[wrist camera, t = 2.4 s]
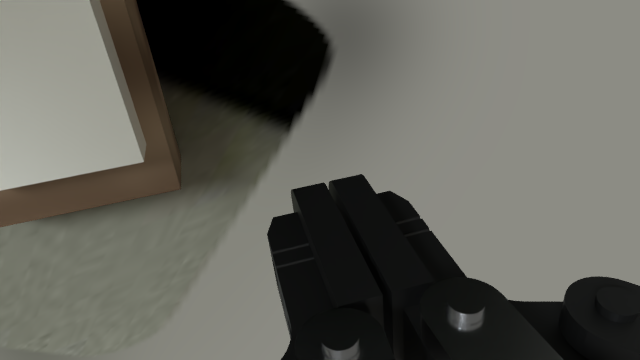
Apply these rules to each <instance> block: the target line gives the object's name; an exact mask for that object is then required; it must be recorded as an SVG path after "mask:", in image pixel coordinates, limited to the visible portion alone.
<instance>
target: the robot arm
mask: <svg viewBox="0 0 640 360" xmlns="http://www.w3.org/2000/svg"><path fill="white" fill-rule="evenodd" d="M291 196H292V203H293V209H294V213H291V214H286V215H282V216H278V217H273V219H272V222H271V225H270V228H269V230H268V234H267V236H268V241H269V246H270V251H271V256H272V261H273V266H274V271H275V276H276V281H277V286H278V290H279V294H280V298H281V302H282V306H283V310H284V314H285V318H286V322H287V326H288V330H289V334H290V338H291V340H290V344H289V347H288V349H287V351H286V353H285V355H284V356H283V358H282V359H281V360H640V286H638V285H635V284H632V283H629V282H626V281H622V280H619V279H615V278H609V277H589V278H583V279H580V280H578V281H576V282H574V283H572V284H571V285H570V286H569V287H568V289H567V291H566V294H565V297H564V301H563V302H522V301H512V300H507V299H506V297H505V296H504V295H503V294H502V293H500V292H499V291H498V290H497V289H495V288H494V287H493V286H491V285H489V284H487V283H485V282H482V281H479V280H476V279H472V278H467V277H466V276H465V274H464V273H463V272H462V271H461V269H460V268H459V266H458V265H457V264H456V263H455V261H454V260H453V259H452V257H451V256H450V255H449V254H448V252H447V251H446V249H445V248H444V247H443V246H442V244H441V243H440V242H439V240H438V239H437V238H436V236H435V235H434V234H433V233H432V231H429V228H428V226H427V225H426V223H425V222H424V221H423V219H420V216H419V214H418V213H417V212H416V210H415V209H414V208H413V206H412V205H411V204H410V203H409V201H407V200H405V199H404V198H402V197H400V196H398V195H396V194H395V193H393V192H391V191H387V192H382V193H378V194H376V193H375V191H374V190H373V189H372V187H371V186H370V184H369V183H368V181H367V180H366V178H365V177H364V176H363V175H362V174H360V175H356V176H351V177H347V178H342V179H337V180H333V181H330V182H329V190H328V188H327V186H326V184H325V183H320V184H315V185H311V186H306V187H302V188H297V189H293V190H291Z"/></svg>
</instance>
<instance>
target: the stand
mask: <svg viewBox="0 0 640 360" xmlns="http://www.w3.org/2000/svg"><path fill="white" fill-rule="evenodd" d="M100 3H101V7H102V10H103V13H104V16H105V19H106V22H107V25H108V28H109V31H110V34H111V37H112V40H113V43H114V46H115V49H116V52H117V56H118V59H119V62H120V65H121V68H122V71H123V74H124V77H125V80H126V83H127V86H128V89H129V92H130V95H131V98H132V101H133V104H134V108H135V111H136V114H137V117H138V120H139V123H140V126H141V129H142V132H143V135H144V138H145V141H146V151H145V158H144V162H142V163H137V164H132V165H127V166H122V167H117V168H112V169H107V170H102V171H96V172H91V173H86V174H81V175H76V176H71V177H66V178H61V179H56V180H51V181H46V182H41V183H36V184H31V185H26V186H21V187H16V188H11V189H6V190H1V191H0V227H4V226H8V225H13V224H18V223H23V222H27V221H32V220H37V219H42V218H46V217H51V216H56V215H61V214H65V213H70V212H75V211H79V210H84V209H89V208H94V207H98V206H103V205H108V204H113V203H117V202H122V201H127V200H132V199H136V198H141V197H146V196H151V195H155V194H160V193H165V192H170V191H174V190H179V189H181V155H180V151H179V148H178V144H177V141H176V137H175V134H174V131H173V127H172V124H171V120H170V117H169V113H168V110H167V106H166V103H165V99H164V96H163V92H162V89H161V85H160V82H159V78H158V75H157V72H156V68H155V65H154V61H153V58H152V54H151V51H150V47H149V44H148V40H147V37H146V33H145V30H144V26H143V23H142V19H141V16H140V13H139V9H138V6H137V2H136V0H100Z"/></svg>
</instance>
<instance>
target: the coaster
mask: <svg viewBox="0 0 640 360" xmlns="http://www.w3.org/2000/svg"><path fill="white" fill-rule="evenodd" d="M145 151H146V141H145V138H144V135H143V132H142V129H141V126H140V123H139V120H138V117H137V114H136V111H135V108H134V104H133V101H132V98H131V95H130V92H129V89H128V86H127V83H126V80H125V77H124V74H123V71H122V68H121V65H120V62H119V59H118V56H117V52H116V49H115V46H114V43H113V40H112V37H111V34H110V31H109V28H108V25H107V22H106V19H105V16H104V13H103V10H102V7H101V3H100V0H0V191H1V190H6V189H11V188H16V187H21V186H26V185H31V184H36V183H41V182H46V181H51V180H56V179H61V178H66V177H71V176H76V175H81V174H86V173H91V172H96V171H102V170H107V169H112V168H117V167H122V166H127V165H132V164H137V163H142V162H144V158H145Z"/></svg>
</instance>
